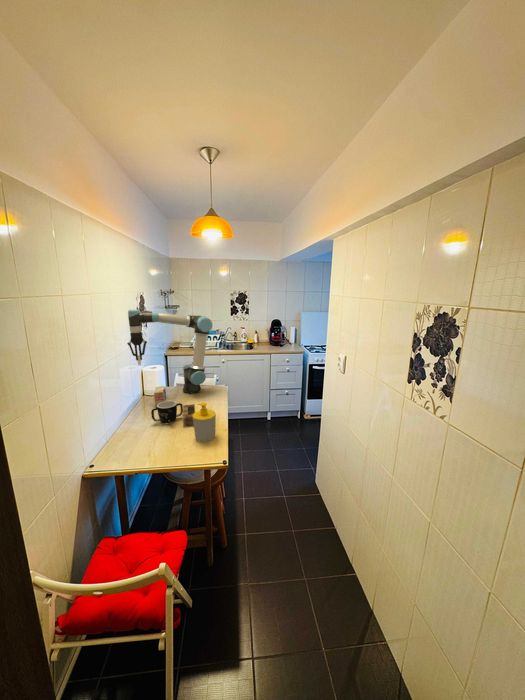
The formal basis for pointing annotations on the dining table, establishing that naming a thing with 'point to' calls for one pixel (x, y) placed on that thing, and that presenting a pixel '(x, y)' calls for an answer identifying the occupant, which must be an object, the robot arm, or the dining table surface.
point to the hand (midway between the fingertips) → (139, 364)
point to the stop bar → (188, 415)
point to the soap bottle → (204, 424)
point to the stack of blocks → (159, 395)
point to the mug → (167, 411)
